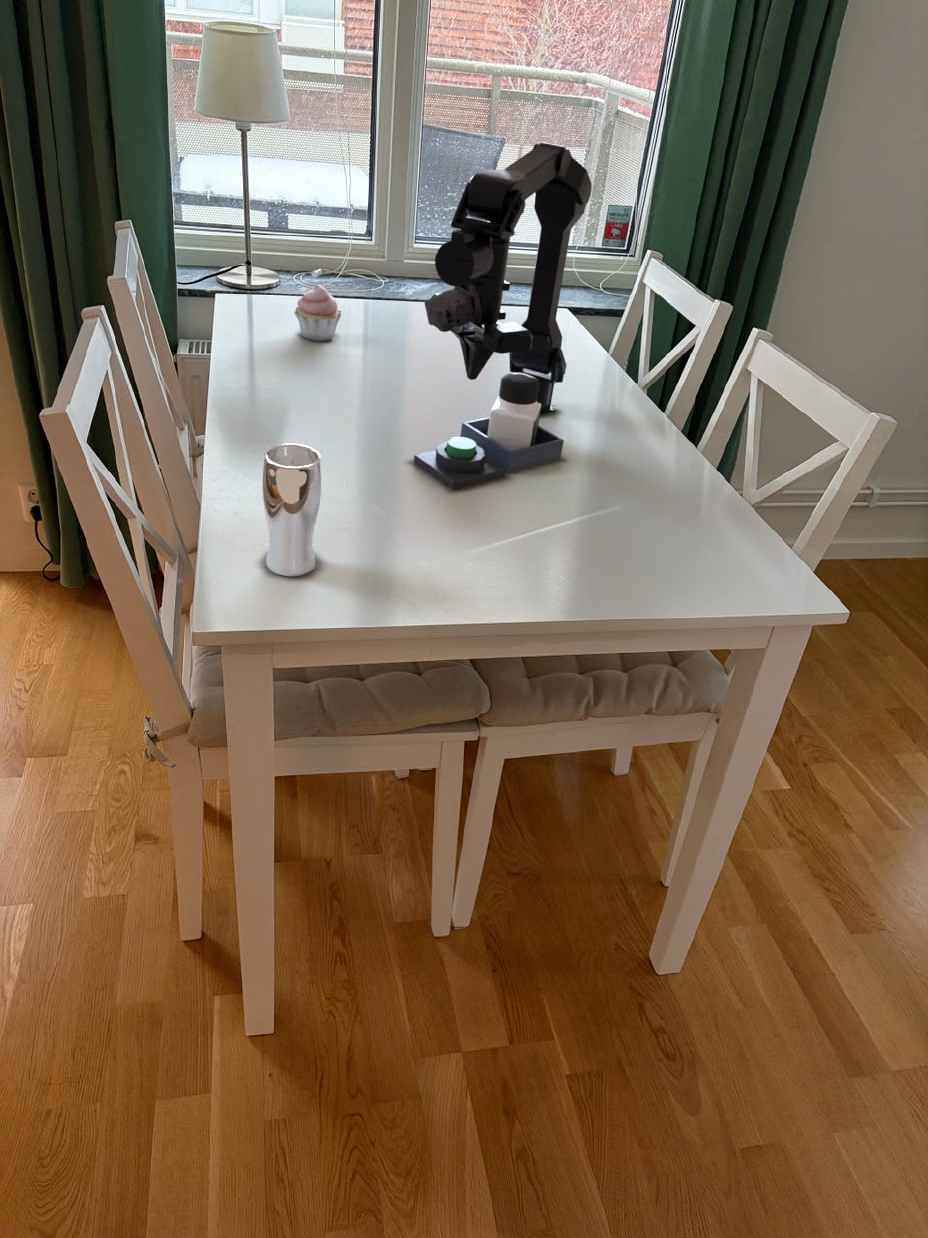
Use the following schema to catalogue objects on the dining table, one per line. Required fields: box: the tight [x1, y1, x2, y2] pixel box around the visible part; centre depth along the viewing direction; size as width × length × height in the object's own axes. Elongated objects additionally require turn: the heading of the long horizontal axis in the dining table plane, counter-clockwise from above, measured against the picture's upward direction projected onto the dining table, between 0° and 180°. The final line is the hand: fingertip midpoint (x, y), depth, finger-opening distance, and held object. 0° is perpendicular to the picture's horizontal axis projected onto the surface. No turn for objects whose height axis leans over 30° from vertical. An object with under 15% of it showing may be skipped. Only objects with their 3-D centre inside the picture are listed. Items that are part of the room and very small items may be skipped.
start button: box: [446, 436, 476, 459], centre depth 151 cm, size 4×4×2 cm
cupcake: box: [293, 283, 342, 342], centre depth 192 cm, size 9×9×10 cm
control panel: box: [413, 441, 506, 491], centre depth 152 cm, size 10×10×3 cm
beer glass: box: [261, 443, 322, 577], centre depth 121 cm, size 7×7×15 cm
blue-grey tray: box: [460, 416, 565, 474], centre depth 160 cm, size 11×12×3 cm
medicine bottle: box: [487, 372, 541, 451], centre depth 157 cm, size 7×7×12 cm
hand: (471, 378), depth 148 cm, fingers closed
